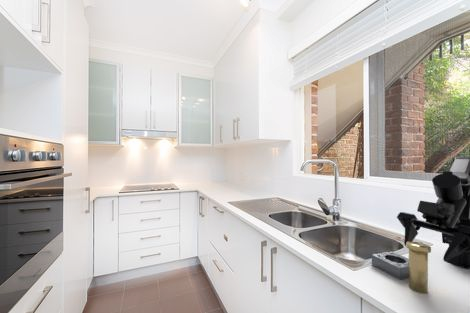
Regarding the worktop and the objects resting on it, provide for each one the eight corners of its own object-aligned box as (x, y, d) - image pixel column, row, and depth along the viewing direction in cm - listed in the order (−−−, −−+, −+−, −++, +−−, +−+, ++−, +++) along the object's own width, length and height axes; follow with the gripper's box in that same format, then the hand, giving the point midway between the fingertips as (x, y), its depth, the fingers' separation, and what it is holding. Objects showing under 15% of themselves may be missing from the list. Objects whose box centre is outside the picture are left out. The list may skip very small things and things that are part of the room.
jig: (391, 261, 74) (391, 251, 74) (420, 275, 65) (420, 263, 65) (371, 265, 71) (371, 254, 71) (399, 279, 62) (399, 267, 62)
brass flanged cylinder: (414, 281, 61) (414, 240, 62) (435, 292, 56) (435, 247, 57) (401, 284, 60) (401, 242, 60) (422, 296, 55) (422, 250, 55)
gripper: (400, 187, 70) (377, 223, 66) (482, 197, 52) (456, 247, 48) (415, 209, 73) (393, 245, 69) (498, 225, 55) (475, 275, 51)
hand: (423, 251), depth 59 cm, fingers open, 9 cm apart
